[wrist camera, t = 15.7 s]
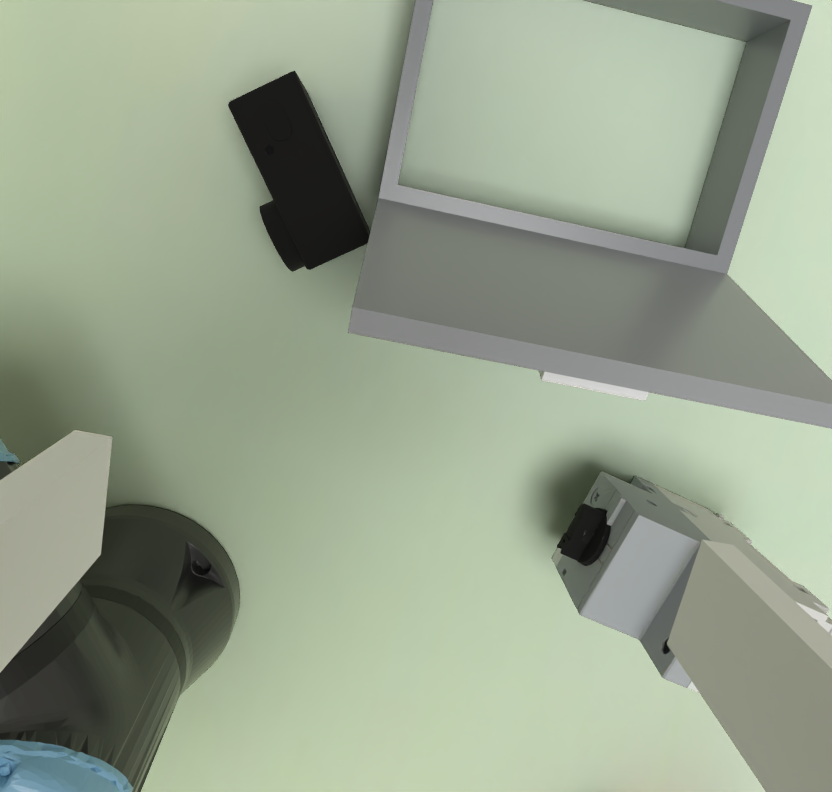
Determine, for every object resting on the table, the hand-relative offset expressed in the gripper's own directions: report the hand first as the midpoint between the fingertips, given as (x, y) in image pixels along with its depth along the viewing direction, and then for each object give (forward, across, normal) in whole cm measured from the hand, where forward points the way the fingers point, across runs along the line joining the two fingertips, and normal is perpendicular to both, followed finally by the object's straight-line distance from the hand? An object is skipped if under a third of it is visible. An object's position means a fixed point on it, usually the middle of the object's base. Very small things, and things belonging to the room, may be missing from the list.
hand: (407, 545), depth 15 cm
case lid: (+22, +9, +5) cm, 24 cm away
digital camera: (+35, -8, +8) cm, 37 cm away
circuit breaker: (+35, +21, -12) cm, 42 cm away
